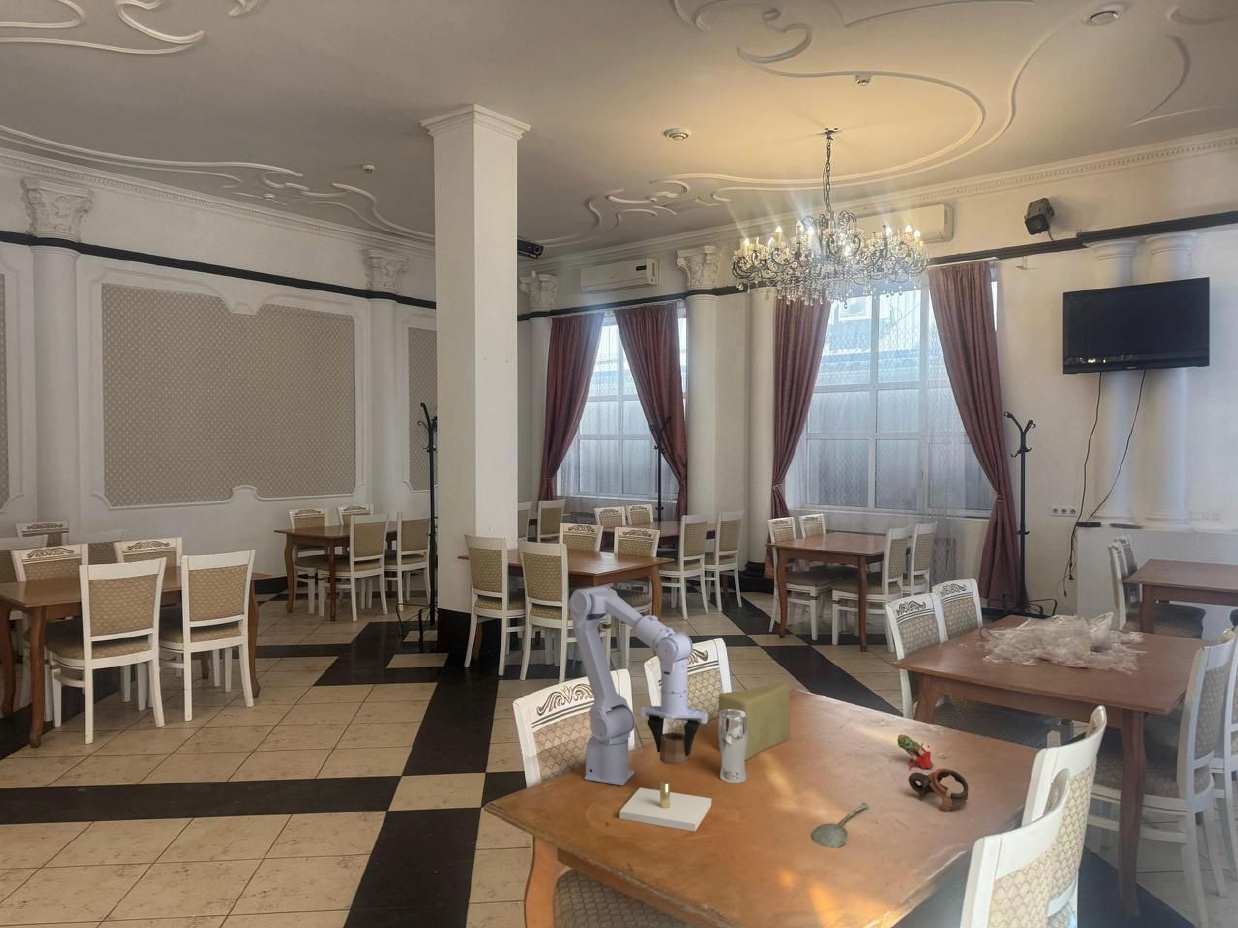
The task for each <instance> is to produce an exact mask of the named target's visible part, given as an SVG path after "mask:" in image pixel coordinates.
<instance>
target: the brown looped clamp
mask: <svg viewBox="0 0 1238 928" xmlns="http://www.w3.org/2000/svg"><path fill="white" fill-rule="evenodd" d="M950 776H951V777H953V779H954V781H955V782H957V783H959V784H961V785H962V787H963V791H961V792H959V793H954V792H951V794H950V796H949V795H947V791H948V790H949V787H948V786H946V785H943V784H942V783H941V781H942V780H943V779H946V778H948V777H950ZM918 782H919V783H920V784H918ZM908 783H909V785H910V787H911V788H912V790H913V791H915V792H916V793H918V795H919V797H920V798H921V799H924V797H926V795H928V794H931V793H936V795H937V796H938V797H940V798H941V799H942V802H941V804H940V805H939V809H940V810H941V811H943V812H945V813H947V812H949V811H950V810H951V809H956V808H959V807H961V806H963V805H964V804H966V803H967V800H969V785H968V784H969V783H968V782H967V780H966V779H965V778H964V777H963V776H962V775H961V773H958V772H956V771H955V770H951V769H949V768H938V769H936V770H935V771H932V772H931V773H928V774H924V773H922V772H917V771H915V772H913V773H911V774H910V776H909V777H908Z"/></svg>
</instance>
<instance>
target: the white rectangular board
mask: <svg viewBox="0 0 1238 928" xmlns="http://www.w3.org/2000/svg"><path fill="white" fill-rule="evenodd" d="M711 806H712V798H710V797H704V796H699V795H697V796H696V795H691V794H685V793H684V794H683V793H680V792H679V793H678V792H672V791H670V807H669V808H667V809H663V808H661V807H660V790H659V789H651V788H646V787H641V786H640V787H639V788H638V789H637V790H636V792H635V793H634V794H633V795H632V796H631V798H629V800H628V801H627V802H626V803H625V804H624V805H623V806H622V807H621V809H619V813H618V815H619V816H618V817H619V819H620V820H625V821H633V822H637V823H643V824H648V825H656V826H659V827H660V826H662V827H666V828H671V829H678V830H684V831H688V832H689V831H691V832H696V831H697V830H698V828H699V826H700V824H701V823H702V822H703V820H704V818H705V817H706V815H707V813H708V811H709V810H710V808H711Z"/></svg>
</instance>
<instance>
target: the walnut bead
mask: <svg viewBox="0 0 1238 928" xmlns="http://www.w3.org/2000/svg"><path fill="white" fill-rule="evenodd" d="M688 760H689V756H685V733H679V732H672V731H671V732H667V733H663V735H662V736H661V737H660V752H659V761H661V762H662V763H663V764H665V765H673V766H678V765H684V764H686V763H687V762H688Z"/></svg>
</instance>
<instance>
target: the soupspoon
mask: <svg viewBox="0 0 1238 928" xmlns="http://www.w3.org/2000/svg"><path fill="white" fill-rule="evenodd" d="M865 810H870V805H869V803H867V802H862V803H861V805H859V806H857V807H856V808H855V809H854V810H852V811H851V812H849V813H848V814H847V815H846V816H844V818H842V819H841V820H840V821H839V822H838V823H837V824H835V823H823V824H820V825H818V826H817V827H815V828H814V830H813V832H812V833H811V839H812V841H813V843H815V844H817V845H819V846H823V847H825V848H831V849H838V848H839V849H840V848H841V847H842V846H843V844H844V843H846V841H847V839H848V834H849V833H848V831H847V829H846V828H845V827H843V826H844V825H845V823H846V822H847V821H848V820H849V819H850V818H851V817H853V816H854V815H855V814H857V813H858V812H862V811H865Z"/></svg>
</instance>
